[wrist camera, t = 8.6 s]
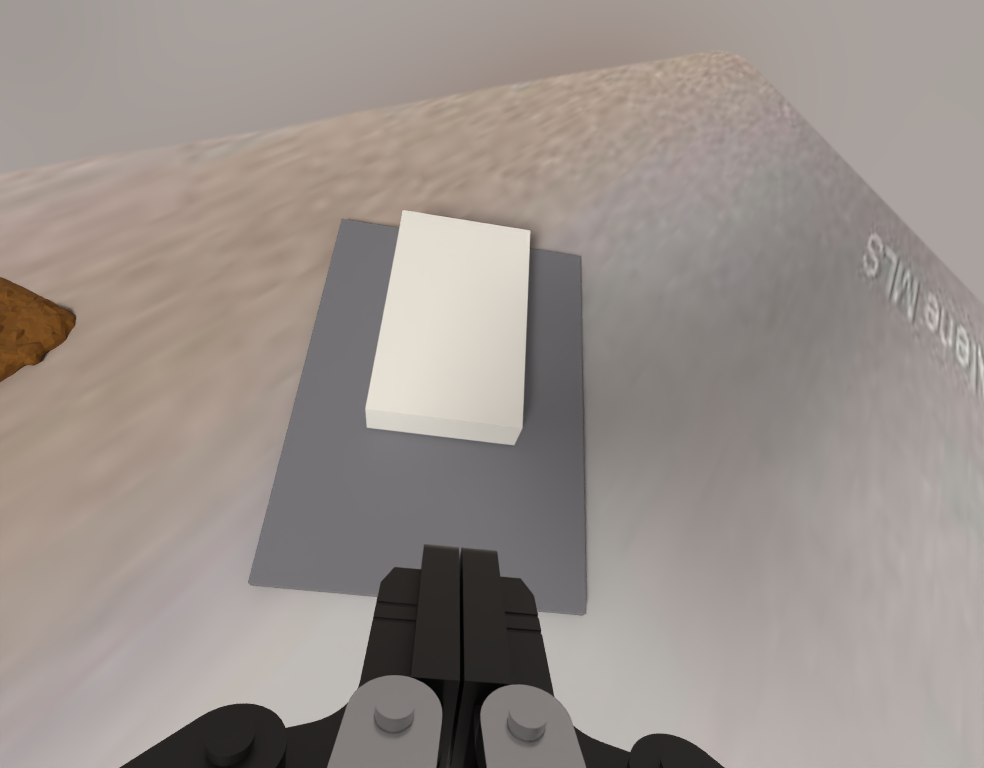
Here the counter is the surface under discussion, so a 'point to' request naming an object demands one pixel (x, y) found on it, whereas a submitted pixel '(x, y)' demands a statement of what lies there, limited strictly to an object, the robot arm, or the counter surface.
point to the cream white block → (453, 332)
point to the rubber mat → (427, 451)
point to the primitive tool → (28, 327)
